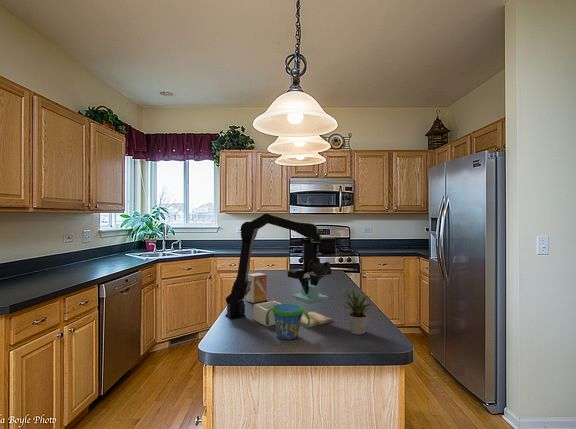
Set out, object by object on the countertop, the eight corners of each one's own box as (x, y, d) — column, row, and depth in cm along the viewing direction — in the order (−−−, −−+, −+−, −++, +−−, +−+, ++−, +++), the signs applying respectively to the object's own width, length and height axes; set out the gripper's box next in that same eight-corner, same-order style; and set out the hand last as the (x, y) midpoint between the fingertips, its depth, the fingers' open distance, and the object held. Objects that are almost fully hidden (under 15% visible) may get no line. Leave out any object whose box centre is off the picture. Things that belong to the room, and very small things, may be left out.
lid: (308, 305, 125) (308, 289, 125) (291, 299, 134) (291, 284, 134) (328, 301, 131) (328, 286, 131) (311, 296, 140) (311, 281, 140)
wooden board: (306, 327, 124) (306, 324, 124) (288, 319, 134) (288, 316, 134) (332, 321, 132) (332, 318, 132) (312, 313, 141) (312, 311, 141)
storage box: (266, 326, 125) (266, 310, 125) (253, 319, 133) (253, 304, 133) (288, 321, 131) (288, 306, 131) (274, 315, 139) (274, 300, 139)
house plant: (326, 331, 120) (327, 286, 120) (346, 322, 130) (346, 281, 130) (362, 341, 110) (362, 292, 110) (380, 330, 121) (381, 286, 121)
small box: (253, 303, 158) (253, 276, 158) (245, 300, 163) (245, 274, 163) (266, 300, 164) (266, 274, 164) (258, 298, 168) (258, 272, 168)
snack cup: (313, 334, 117) (313, 305, 117) (303, 345, 107) (304, 314, 107) (273, 328, 123) (273, 301, 123) (260, 338, 113) (260, 308, 113)
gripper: (304, 258, 121) (304, 301, 121) (341, 255, 132) (340, 294, 132) (286, 255, 130) (286, 295, 130) (322, 252, 141) (322, 289, 141)
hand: (309, 293), depth 133 cm, fingers closed on lid, 3 cm apart
